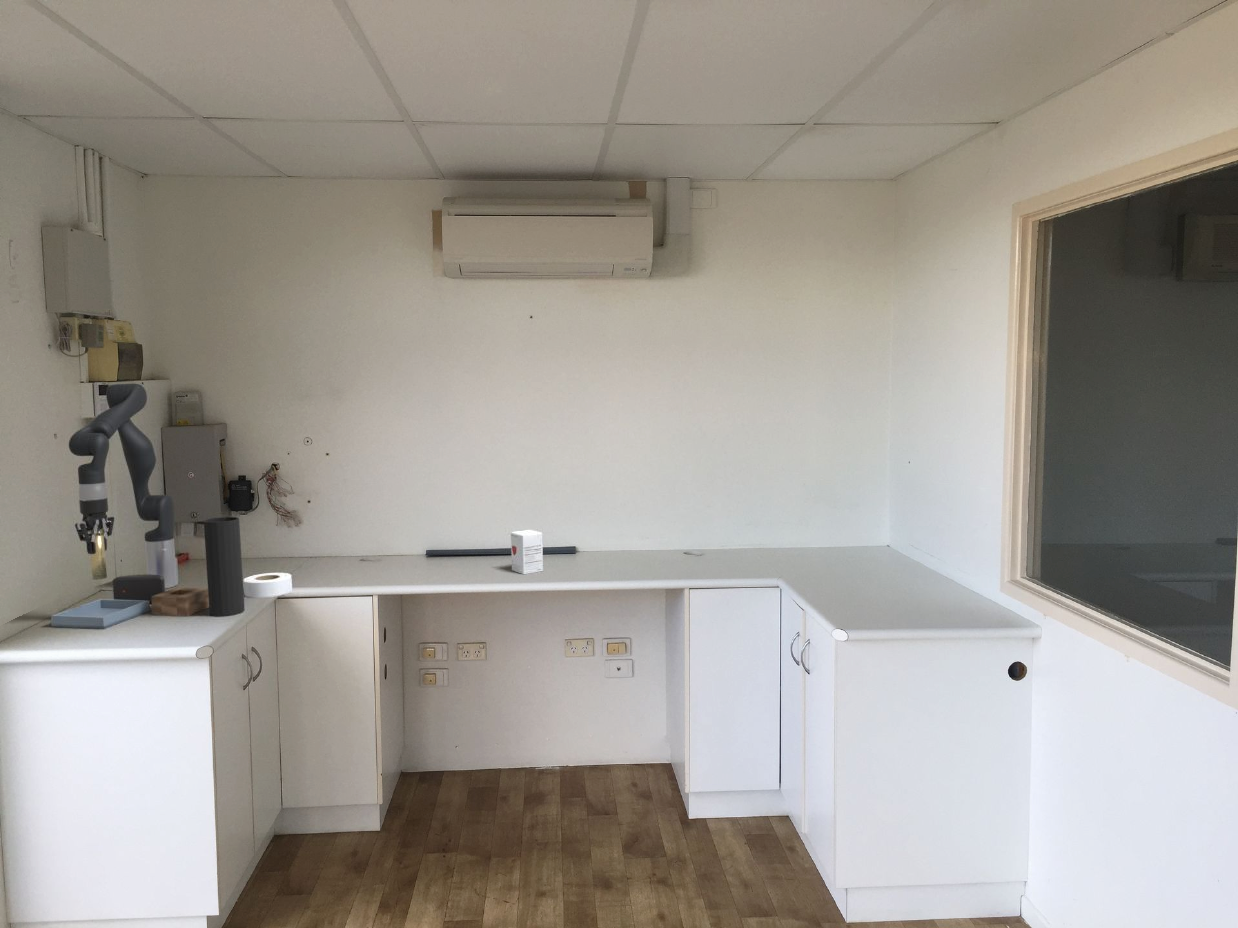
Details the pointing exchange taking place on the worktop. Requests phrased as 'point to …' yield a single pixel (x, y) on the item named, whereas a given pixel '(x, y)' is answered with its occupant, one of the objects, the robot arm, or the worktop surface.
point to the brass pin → (98, 557)
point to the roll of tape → (267, 585)
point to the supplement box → (527, 551)
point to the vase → (224, 566)
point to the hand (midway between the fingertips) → (97, 551)
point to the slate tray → (100, 614)
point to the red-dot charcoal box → (138, 587)
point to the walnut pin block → (180, 601)
